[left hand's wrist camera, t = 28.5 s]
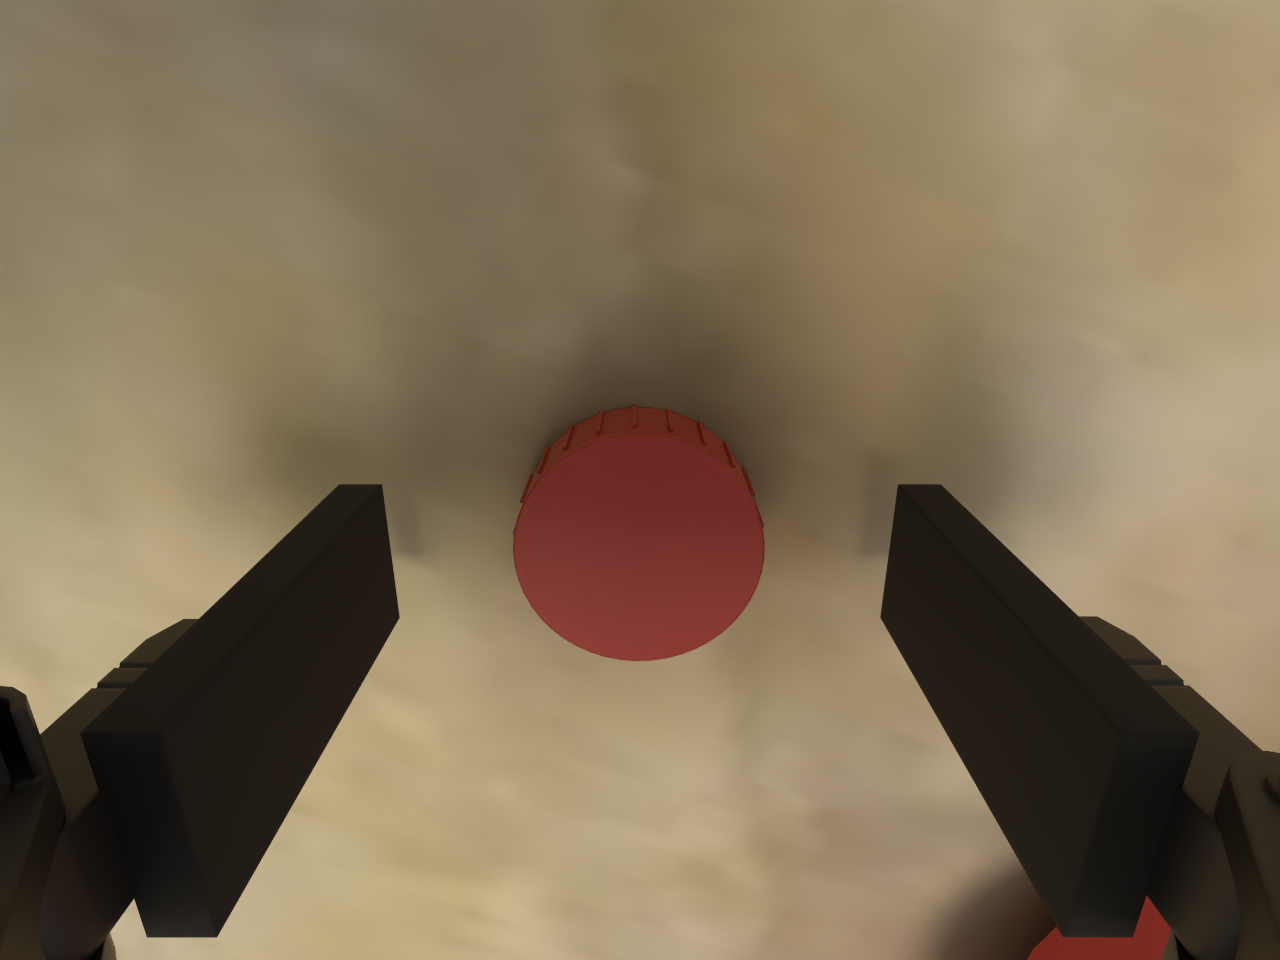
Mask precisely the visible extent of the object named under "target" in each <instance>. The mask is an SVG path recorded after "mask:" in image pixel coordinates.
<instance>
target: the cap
mask: <svg viewBox="0 0 1280 960" xmlns="http://www.w3.org/2000/svg"><path fill="white" fill-rule="evenodd" d="M754 495H755V493H754V491H753V488H752V486H751V483H750V480H749V478H748V475H747V473H746V470H745V468H744V467H743V468H741V467H740V465H739V463H738V461H737V460H736V458H735V457H734V455H733V453H732V452H731V451H730V448H729V445H728V443H727V442H726V441H725V442H724V443H723V442H722V441H721V440H720V439H719V438H718V437H717V436H716V435H715V434H714V433H713V432H711V431H710V430H708V429H707V428H705V427H704V426H703V423H702V422H701V421H699V422H698V423H697V422H695V421H693V420H691V419H690V418H688V417H685V416H682V415H680V414H677V413H674V412H672V411H671V409H667V411H666V410H661V409H655V408H644V407H637V405H633V408H623V409H617V410H611V411H608V412H605V413H604V412H603V411H600V412H599V414H598V415H595V416H593V417H591V418H589V419H586V420H584V421H582V422H581V423H579V424H577V425H576V426H574V427H573V425H571V426H569V428H568V431H567V432H566V433H565V434H563V435H562V436H561V437H560V438H559V439H558V440H557V441H556V442H555V443H554V444H553V445H552V446H551V447H550V448H549V447H547V448H546V449H545V451H544V454H543V456H542V459H541V461H540V463H539V465H538V467H537V469H536V471H535V473H534V475H533V474H531V475H530V477H529V480H528V482H527V485H526V487H525V490H524V493H523V495H522V498H521V500H520V503H523V504H522V507H521V510H520V513H519V516H518V519H517V522H516V526H515V528H514V531H513V534H514V544H513V554H514V563H515V568H516V572H517V576H518V580H519V582H520V585H521V587H522V590H523V592H524V594H525V596H526V598H527V599H528V601H529V603H530V605H531V606H532V608H533V609H534V610H535V612H536V613H537V614H538V615H539V617H540V618H541V619H542V620H543V621H544V622H545V623H546V624H547V625H548V626H549V627H550V628H551V629H552V630H553V631H555V632H556V633H557V634H559V635H560V636H561V637H563V638H564V639H566V640H567V641H569V642H571V643H572V644H574V645H576V646H578V647H580V648H582V649H584V650H587V651H589V652H591V653H595V654H598V655H601V656H604V657H609V658H614V659H619V660H630V661H650V660H658V659H665V658H669V657H673V656H677V655H681V654H684V653H686V652H689V651H691V650H694V649H696V648H698V647H700V646H702V645H704V644H706V643H708V642H709V641H711V640H712V639H714V638H715V637H717V636H718V635H719V634H721V633H722V632H723V631H724V630H726V629H727V628H728V627H729V626H730V625H731V624H732V623H733V622H734V621H735V620H736V619H737V618H738V616H739V615H740V614H741V613H742V612H743V610H744V609H745V607H746V606H747V604H748V603H749V601H750V600H751V598H752V596H753V594H754V591H755V589H756V587H757V585H758V582H759V579H760V576H761V572H762V567H763V561H764V543H765V542H764V534H763V527H764V523H763V521H762V518H761V516H760V513H759V510H758V508H757V505H756V502H755V500H754V497H752V496H754Z"/></svg>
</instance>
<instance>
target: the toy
mask: <svg viewBox="0 0 1280 960" xmlns="http://www.w3.org/2000/svg"><path fill="white" fill-rule="evenodd" d="M1170 932H1171V928H1170V927H1169V925H1168V924H1167V923H1166V921H1165V920H1164V918H1163V917H1162V916H1161V914H1160V913H1159V911H1158V910H1157V909H1156V907H1155V906H1154V905H1153V903H1152V902H1151V900H1150V899H1149V898H1148V896H1146V899H1145V902H1144V905H1143V908H1142V911H1141V914H1140V917H1139V920H1138V923H1137V926H1136V929H1135V932H1134V935H1133V937H1063V936H1062V935H1061V933H1060V931H1059V929H1058V928H1057V926H1056V927H1055V928H1054V929H1053V930H1052V931H1051V932H1050V933H1049V934H1048V935H1047V936H1046V937H1045V938H1044V939H1043V940H1042V941H1041V942H1040V943H1039V944H1038V945H1037V946H1036V947H1035V948H1034V949H1033V950H1032V952H1031V954H1030V955H1029V957H1028V958H1027V960H1161V957H1162V954H1163V952H1164V949H1165V946H1166V943H1167V940H1168V937H1169V935H1170Z"/></svg>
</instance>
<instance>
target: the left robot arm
mask: <svg viewBox="0 0 1280 960" xmlns="http://www.w3.org/2000/svg"><path fill="white" fill-rule="evenodd" d="M399 618H400V617H399V610H398V602H397V594H396V587H395V579H394V572H393V564H392V557H391V549H390V542H389V534H388V526H387V519H386V511H385V504H384V496H383V489H382V484H339V485H338V486H337V487H336V488H335V489H334V490H333V491H332V492H331V493H330V494H329V495H328V496H327V497H326V498H325V499H324V500H323V501H322V502H321V503H320V504H318V505H317V506H316V507H315V508H314V509H313V510H312V511H311V512H310V513H309V514H308V515H307V516H306V517H305V518H304V519H303V520H302V521H301V522H300V523H299V524H298V525H297V526H296V527H294V528H293V529H292V530H291V531H290V532H289V533H288V534H287V535H286V536H285V537H284V538H283V539H282V540H281V541H280V542H279V543H278V544H277V545H276V546H275V547H274V548H273V549H271V550H270V551H269V552H268V553H267V554H266V555H265V556H264V557H263V558H262V559H261V560H260V561H259V562H258V563H257V564H256V565H255V566H254V567H253V568H252V569H251V570H250V571H249V572H247V573H246V574H245V575H244V576H243V577H242V578H241V579H240V580H239V581H238V582H237V583H236V584H235V585H234V586H233V587H232V588H231V589H230V590H229V591H228V592H227V593H226V594H224V595H223V596H222V597H221V598H220V599H219V600H218V601H217V602H216V603H215V604H214V605H213V606H212V607H211V608H210V609H209V610H208V611H207V612H206V613H205V614H204V615H203V616H201V617H200V618H199V619H183V620H181V621H179V622H177V623H176V624H174V625H172V626H170V627H168V628H166V629H165V630H163V631H161V632H159V633H157V634H155V635H154V636H152V637H150V638H148V639H146V640H145V641H144V642H143V643H142V644H141V645H140V646H138V647H137V648H136V649H135V650H134V651H133V652H132V653H131V654H130V655H128V656H127V657H126V658H125V659H124V660H123V661H122V662H121V663H120V667H119V668H114V669H113V670H112V671H111V672H109V673H108V674H107V675H106V676H105V677H104V678H103V679H102V680H101V681H99V682H98V686H97V688H92V689H91V690H89V691H88V692H87V693H86V694H85V695H84V696H83V697H82V698H80V699H79V700H78V701H77V702H76V703H75V704H74V705H73V706H72V707H70V708H69V709H68V710H67V711H66V712H65V713H64V714H63V715H62V716H60V717H59V718H58V719H57V720H56V721H55V722H54V723H53V724H51V725H50V726H49V727H48V728H47V729H46V730H45V731H44V732H43V733H41V734H39V731H38V728H37V725H36V722H35V720H34V717H33V714H32V711H31V708H30V705H29V703H28V700H27V697H26V695H25V694H23V693H22V692H20V691H18V690H17V689H15V688H13V687H5V686H0V960H117V959H116V952H115V946H114V943H113V940H112V937H111V935H110V931H111V930H112V928H113V927H114V925H115V924H116V923H117V921H118V920H119V919H120V917H121V916H122V914H123V913H124V912H125V910H126V909H127V907H128V906H129V905H130V903H131V902H132V900H133V899H135V902H136V905H137V908H138V911H139V914H140V917H141V920H142V923H143V926H144V929H145V932H146V935H147V937H217V936H218V935H219V933H220V931H221V929H222V928H223V926H224V924H225V922H226V921H227V919H228V917H229V915H230V914H231V912H232V910H233V908H234V907H235V905H236V903H237V901H238V900H239V898H240V896H241V894H242V893H243V891H244V889H245V887H246V886H247V884H248V882H249V880H250V879H251V877H252V875H253V873H254V872H255V870H256V868H257V866H258V865H259V863H260V861H261V859H262V858H263V856H264V854H265V852H266V851H267V849H268V847H269V845H270V844H271V842H272V840H273V838H274V837H275V835H276V833H277V831H278V830H279V828H280V826H281V824H282V823H283V821H284V819H285V817H286V816H287V814H288V812H289V810H290V809H291V807H292V805H293V803H294V802H295V800H296V798H297V796H298V795H299V793H300V791H301V789H302V788H303V786H304V784H305V782H306V781H307V779H308V777H309V775H310V774H311V772H312V770H313V768H314V767H315V765H316V763H317V761H318V760H319V758H320V756H321V754H322V752H323V751H324V749H325V747H326V745H327V744H328V742H329V740H330V738H331V737H332V735H333V733H334V731H335V730H336V728H337V726H338V724H339V723H340V721H341V719H342V717H343V716H344V714H345V712H346V710H347V709H348V707H349V705H350V703H351V702H352V700H353V698H354V696H355V695H356V693H357V691H358V689H359V688H360V686H361V684H362V682H363V681H364V679H365V677H366V675H367V674H368V672H369V670H370V668H371V667H372V665H373V663H374V661H375V660H376V658H377V656H378V654H379V653H380V651H381V649H382V647H383V646H384V644H385V642H386V640H387V639H388V637H389V635H390V633H391V632H392V630H393V628H394V626H395V625H396V623H397V621H398V619H399ZM880 618H881V619H882V621H883V623H884V625H885V626H886V628H887V630H888V632H889V633H890V635H891V637H892V639H893V640H894V642H895V644H896V646H897V647H898V649H899V651H900V653H901V654H902V656H903V658H904V660H905V661H906V663H907V665H908V667H909V668H910V670H911V672H912V674H913V675H914V677H915V679H916V681H917V682H918V684H919V686H920V688H921V689H922V691H923V693H924V695H925V696H926V698H927V700H928V702H929V703H930V705H931V707H932V709H933V710H934V712H935V714H936V716H937V717H938V719H939V721H940V723H941V724H942V726H943V728H944V730H945V731H946V733H947V735H948V737H949V738H950V740H951V742H952V744H953V745H954V747H955V749H956V751H957V752H958V754H959V756H960V758H961V759H962V761H963V763H964V765H965V766H966V768H967V770H968V772H969V773H970V775H971V777H972V779H973V780H974V782H975V784H976V786H977V787H978V789H979V791H980V793H981V794H982V796H983V798H984V800H985V801H986V803H987V805H988V807H989V809H990V810H991V812H992V814H993V816H994V817H995V819H996V821H997V823H998V824H999V826H1000V828H1001V830H1002V831H1003V833H1004V835H1005V837H1006V838H1007V840H1008V842H1009V844H1010V845H1011V847H1012V849H1013V851H1014V852H1015V854H1016V856H1017V858H1018V859H1019V861H1020V863H1021V865H1022V866H1023V868H1024V870H1025V872H1026V873H1027V875H1028V877H1029V879H1030V880H1031V882H1032V884H1033V886H1034V887H1035V889H1036V891H1037V893H1038V894H1039V896H1040V898H1041V900H1042V901H1043V903H1044V905H1045V907H1046V908H1047V910H1048V912H1049V914H1050V915H1051V917H1052V919H1053V921H1054V922H1055V924H1056V926H1057V928H1058V929H1059V931H1060V933H1061V935H1062V936H1063V937H1133V935H1134V932H1135V929H1136V926H1137V923H1138V920H1139V917H1140V914H1141V911H1142V908H1143V905H1144V902H1145V899H1146V896H1148V898H1149V899H1150V900H1151V902H1152V903H1153V905H1154V906H1155V907H1156V909H1157V910H1158V911H1159V913H1160V914H1161V916H1162V917H1163V918H1164V920H1165V921H1166V923H1167V924H1168V925H1169V927H1170V928H1171V932H1170V935H1169V937H1168V940H1167V943H1166V946H1165V949H1164V952H1163V954H1162V957H1161V960H1280V753H1276V752H1270V751H1262V750H1261V749H1260V748H1259V747H1258V746H1256V745H1255V744H1254V743H1253V742H1252V741H1251V740H1250V739H1249V738H1248V737H1246V736H1245V735H1244V734H1243V733H1242V732H1241V731H1240V730H1239V729H1237V728H1236V727H1235V726H1234V725H1233V724H1232V723H1231V722H1230V721H1228V720H1227V719H1226V718H1225V717H1224V716H1223V715H1222V714H1221V713H1219V712H1218V711H1217V710H1216V709H1215V708H1214V707H1213V706H1212V705H1210V704H1209V703H1208V702H1207V701H1206V700H1205V699H1204V698H1203V697H1201V696H1200V695H1199V694H1198V693H1197V692H1196V691H1195V690H1194V689H1192V688H1191V687H1190V686H1184V683H1183V680H1182V679H1181V678H1180V677H1179V676H1178V675H1177V674H1176V673H1174V672H1173V671H1172V670H1171V669H1170V668H1169V667H1168V666H1167V665H1161V660H1160V659H1159V658H1158V657H1157V656H1155V655H1154V654H1153V653H1152V652H1151V651H1150V650H1149V649H1148V648H1146V647H1145V646H1144V645H1143V644H1142V643H1141V642H1140V641H1139V640H1137V639H1136V638H1135V637H1134V636H1132V635H1130V634H1128V633H1126V632H1125V631H1123V630H1121V629H1119V628H1117V627H1115V626H1114V625H1112V624H1110V623H1108V622H1106V621H1104V620H1102V619H1101V618H1099V617H1079V616H1077V615H1076V614H1075V613H1074V612H1073V611H1072V610H1071V609H1070V608H1069V607H1068V606H1067V605H1066V604H1065V603H1064V602H1063V601H1062V600H1061V599H1060V598H1059V597H1058V596H1057V595H1056V594H1054V593H1053V592H1052V591H1051V590H1050V589H1049V588H1048V587H1047V586H1046V585H1045V584H1044V583H1043V582H1042V581H1041V580H1040V579H1039V578H1038V577H1037V576H1036V575H1035V574H1034V573H1033V572H1032V571H1030V570H1029V569H1028V568H1027V567H1026V566H1025V565H1024V564H1023V563H1022V562H1021V561H1020V560H1019V559H1018V558H1017V557H1016V556H1015V555H1014V554H1013V553H1012V552H1011V551H1010V550H1009V549H1007V548H1006V547H1005V546H1004V545H1003V544H1002V543H1001V542H1000V541H999V540H998V539H997V538H996V537H995V536H994V535H993V534H992V533H991V532H990V531H989V530H988V529H987V528H986V527H985V526H983V525H982V524H981V523H980V522H979V521H978V520H977V519H976V518H975V517H974V516H973V515H972V514H971V513H970V512H969V511H968V510H967V509H966V508H965V507H964V506H963V505H962V504H960V503H959V502H958V501H957V500H956V499H955V498H954V497H953V496H952V495H951V494H950V493H949V492H948V491H947V490H946V489H945V488H944V487H943V486H942V485H941V484H898V489H897V496H896V504H895V511H894V519H893V527H892V534H891V542H890V549H889V557H888V564H887V572H886V579H885V587H884V595H883V602H882V610H881V617H880Z"/></svg>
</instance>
